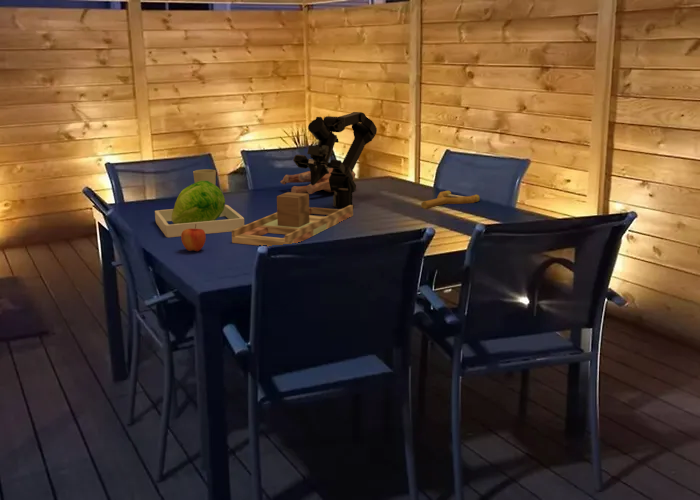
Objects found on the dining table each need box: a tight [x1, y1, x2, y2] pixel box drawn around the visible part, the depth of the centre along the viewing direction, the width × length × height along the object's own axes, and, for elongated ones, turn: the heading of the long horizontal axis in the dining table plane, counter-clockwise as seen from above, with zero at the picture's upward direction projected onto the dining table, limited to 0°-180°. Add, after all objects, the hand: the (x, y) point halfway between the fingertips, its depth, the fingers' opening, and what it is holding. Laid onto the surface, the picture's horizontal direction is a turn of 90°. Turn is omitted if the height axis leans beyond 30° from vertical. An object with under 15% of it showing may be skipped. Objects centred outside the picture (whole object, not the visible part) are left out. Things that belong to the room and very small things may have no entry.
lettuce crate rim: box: [154, 204, 245, 238], centre depth 269 cm, size 26×26×4 cm
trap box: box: [231, 204, 354, 247], centre depth 264 cm, size 51×20×4 cm, turn 157°
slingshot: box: [420, 190, 481, 209], centre depth 304 cm, size 18×3×25 cm
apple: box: [180, 224, 207, 252], centre depth 235 cm, size 7×7×8 cm
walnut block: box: [276, 191, 310, 227], centre depth 261 cm, size 8×8×10 cm
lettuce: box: [171, 181, 226, 224], centre depth 269 cm, size 17×20×17 cm
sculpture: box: [280, 168, 356, 195], centre depth 331 cm, size 12×26×30 cm
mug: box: [192, 168, 217, 186], centre depth 315 cm, size 11×10×12 cm
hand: (312, 184), depth 278 cm, fingers closed
